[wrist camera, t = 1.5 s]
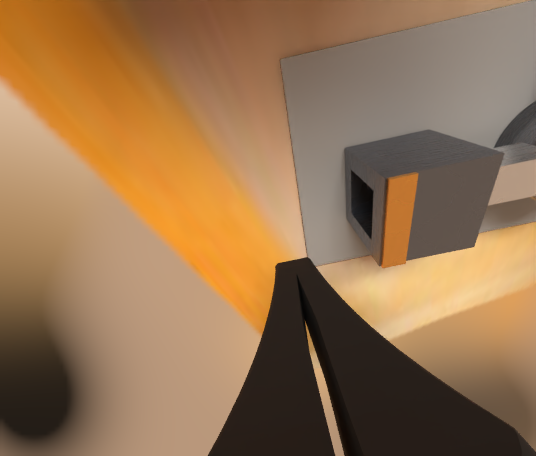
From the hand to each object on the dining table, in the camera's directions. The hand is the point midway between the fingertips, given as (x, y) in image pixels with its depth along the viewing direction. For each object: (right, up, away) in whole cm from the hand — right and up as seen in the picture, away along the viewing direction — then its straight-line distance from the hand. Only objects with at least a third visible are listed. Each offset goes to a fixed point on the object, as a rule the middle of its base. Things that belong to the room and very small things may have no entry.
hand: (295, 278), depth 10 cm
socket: (+6, +5, +6) cm, 10 cm away
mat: (+10, +7, +6) cm, 13 cm away
